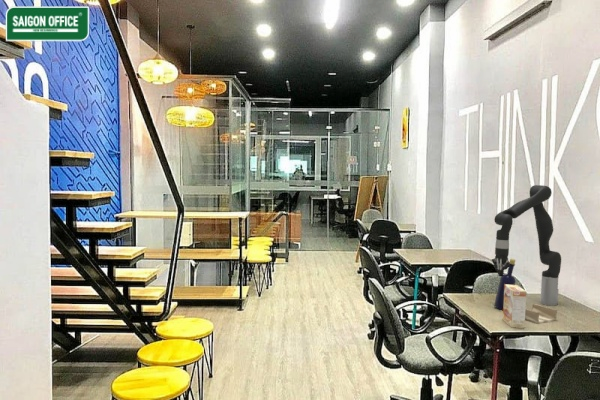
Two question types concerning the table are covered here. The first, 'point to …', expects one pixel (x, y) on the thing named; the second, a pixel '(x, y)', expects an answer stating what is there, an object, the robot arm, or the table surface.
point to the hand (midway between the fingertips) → (500, 276)
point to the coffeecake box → (514, 306)
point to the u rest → (540, 314)
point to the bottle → (504, 280)
